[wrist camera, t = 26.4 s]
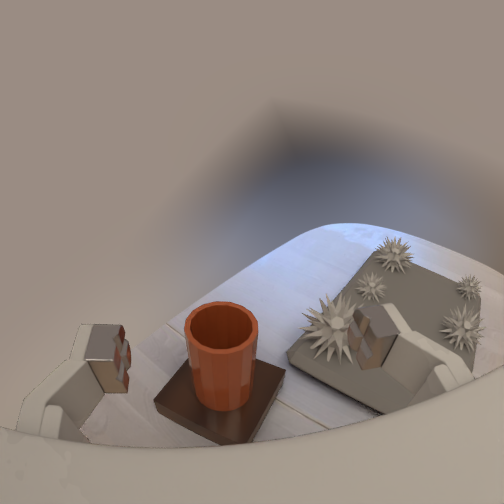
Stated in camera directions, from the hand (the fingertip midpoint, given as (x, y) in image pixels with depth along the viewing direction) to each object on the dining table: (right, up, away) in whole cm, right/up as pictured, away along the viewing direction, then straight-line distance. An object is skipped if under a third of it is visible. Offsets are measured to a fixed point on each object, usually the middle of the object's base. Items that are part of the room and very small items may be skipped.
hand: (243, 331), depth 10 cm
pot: (-3, -12, +22) cm, 25 cm away
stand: (-3, -15, +23) cm, 28 cm away
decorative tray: (+24, -10, +34) cm, 43 cm away
